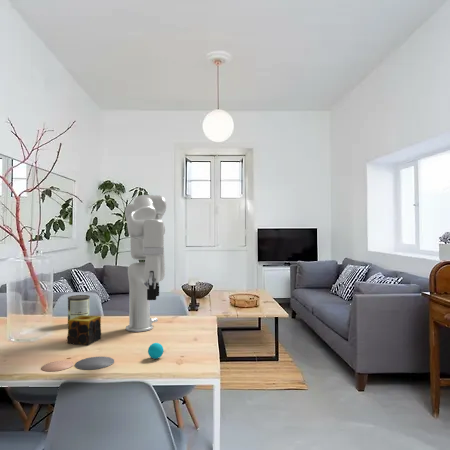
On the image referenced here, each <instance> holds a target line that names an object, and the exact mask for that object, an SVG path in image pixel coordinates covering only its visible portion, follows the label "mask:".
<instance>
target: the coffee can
mask: <svg viewBox="0 0 450 450" xmlns="http://www.w3.org/2000/svg"><path fill="white" fill-rule="evenodd" d="M81 315H85V316H90V295H87V294H77V295H71V296H67V321H68V320H70V319H73V318H75V317H78V316H81Z"/></svg>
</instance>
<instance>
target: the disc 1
mask: <svg viewBox="0 0 450 450" xmlns="http://www.w3.org/2000/svg"><path fill="white" fill-rule="evenodd" d="M73 366H75V364H74V361H71V360H56V361H55V360H54V361H50V362H48V363H45V364H44V365H42V366H41V370H42V371H43V372H59V371H65V370H68V369H71V368H72V367H73Z"/></svg>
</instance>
